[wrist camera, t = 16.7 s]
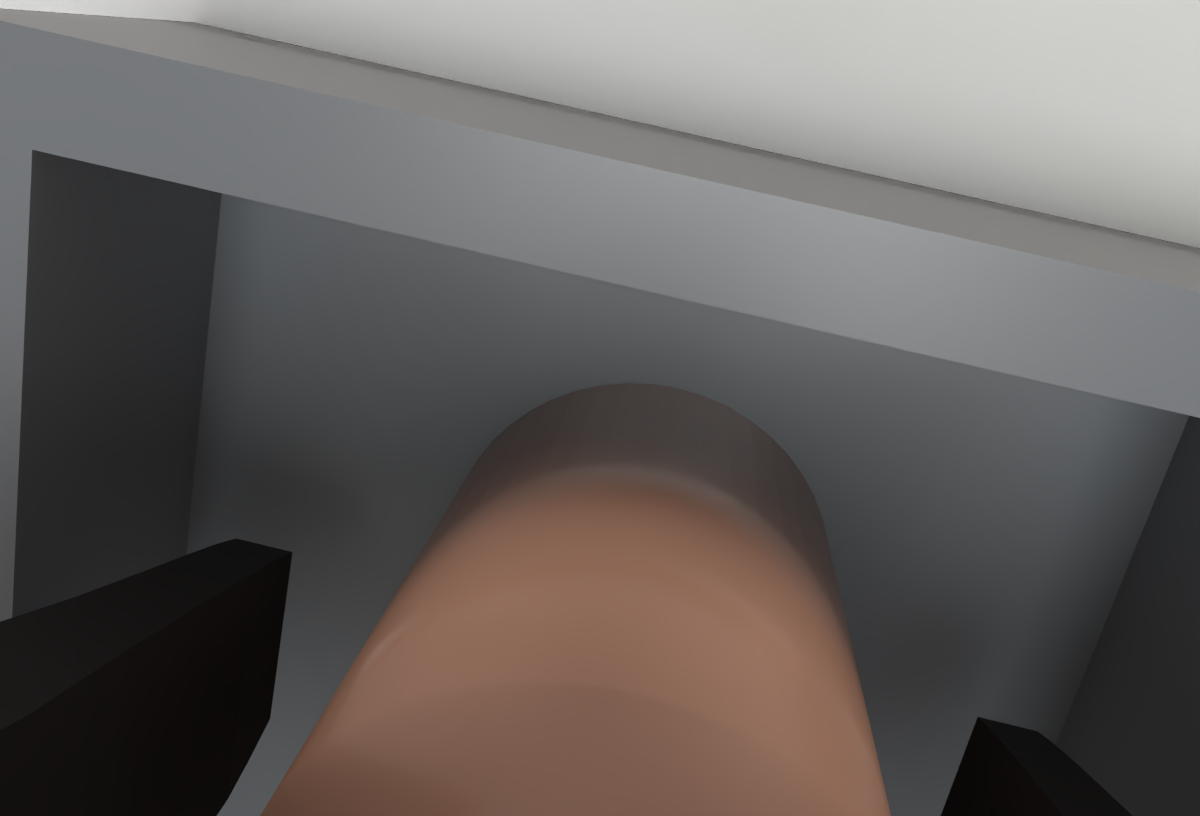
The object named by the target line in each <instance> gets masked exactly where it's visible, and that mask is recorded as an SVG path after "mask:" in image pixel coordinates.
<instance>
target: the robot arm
mask: <svg viewBox="0 0 1200 816" xmlns="http://www.w3.org/2000/svg"><path fill="white" fill-rule="evenodd" d="M291 559H292V552H290V551H286V550H282V549H278V548H274V547H270V546H266V545H261V544H257V543H253V542H249V541H245V540H241V539H232V540H229V541H225V542H221V543H218V544H215V545H212V546H209V547H207V548H204V549H201V550H198V551H196V552H193V553H190V554H187V555H185V556H182V557H180V558H177V559H174V560H172V561H169V562H166V563H164V564H161V565H159V566H156V567H154V568H151V569H148V570H146V571H143V572H140V573H138V574H135V575H132V576H130V577H127V578H124V579H122V580H119V581H116V582H114V583H111V584H108V585H106V586H103V587H101V588H98V589H95V590H93V591H90V592H87V593H85V594H82V595H79V596H76V597H73V598H70V599H67V600H64V601H61V602H58V603H55V604H52V605H49V606H46V607H43V608H40V609H37V610H34V611H31V612H28V613H25V614H22V615H19V616H16V617H13V618H10V619H7V620H4V621H1V622H0V816H217V814H218V813H219V812H220V810H221V809H222V807H223V806H224V804H225V803H226V801H227V800H228V798H229V796H230V794H231V793H232V791H233V789H234V787H235V785H236V783H237V782H238V780H239V778H240V776H241V774H242V772H243V770H244V769H245V767H246V765H247V763H248V761H249V759H250V757H251V755H252V753H253V751H254V749H255V747H256V745H257V744H258V742H259V740H260V738H261V736H262V734H263V732H264V730H265V728H266V726H267V724H268V722H269V720H270V716H271V709H272V701H273V694H274V686H275V679H276V671H277V664H278V657H279V649H280V642H281V634H282V627H283V619H284V612H285V604H286V597H287V589H288V582H289V574H290V567H291ZM941 816H1132V815H1131V814H1130V813H1129V812H1128V811H1127V810H1126V809H1125V808H1124V807H1123V806H1122V805H1121V804H1120V803H1119V802H1118V801H1117V800H1115V799H1114V798H1113V797H1112V796H1111V795H1110V794H1109V793H1108V792H1107V791H1106V790H1105V789H1104V788H1103V787H1102V786H1101V785H1099V784H1098V783H1097V782H1096V781H1095V780H1094V779H1093V778H1092V777H1091V776H1090V775H1089V774H1088V773H1086V772H1085V771H1084V770H1083V769H1082V768H1081V767H1080V766H1079V765H1078V764H1077V763H1075V762H1074V761H1073V760H1072V759H1071V758H1070V757H1069V756H1068V755H1066V754H1065V753H1064V752H1063V751H1062V750H1061V749H1059V748H1058V747H1057V746H1056V745H1055V744H1053V743H1052V742H1051V741H1050V740H1048V739H1047V738H1046V737H1044V736H1043V735H1042V734H1040V733H1039V732H1038V731H1035V730H1030V729H1026V728H1022V727H1018V726H1014V725H1010V724H1005V723H1001V722H997V721H993V720H989V719H985V718H981V717H977V720H976V723H975V725H974V728H973V731H972V733H971V736H970V739H969V741H968V744H967V747H966V749H965V752H964V755H963V757H962V760H961V763H960V765H959V768H958V771H957V773H956V776H955V779H954V781H953V784H952V787H951V789H950V792H949V795H948V797H947V800H946V803H945V805H944V808H943V811H942V813H941Z"/></svg>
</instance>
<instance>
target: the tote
mask: <svg viewBox="0 0 1200 816" xmlns="http://www.w3.org/2000/svg"><path fill="white" fill-rule="evenodd" d="M624 383H632V384H654V385H660V386H666V387H672V388H678V389H682V390H685V391H689V392H692V393H695V394H699V395H702V396H705V397H707V398H709V399H712V400H714V401H716V402H718V403H721V404H723V405H725V406H728V407H729V408H731V409H733V410H734V411H736V412H738V413H739V414H741V415H743V416H744V417H746V418H748V419H749V420H751V421H752V422H753V423H754V424H756V425H757V426H758V427H760V428H761V429H762V430H763V431H765V432H766V433H767V434H768V435H770V436H771V437H772V438H773V439H774V440H775V441H776V443H777V444H778V445H779V446H780V447H781V448H782V449H783V450H784V451H785V452H786V453H787V454H788V455H789V457H790V458H791V459H792V461H793V462H794V463H795V465H796V466H797V468H798V469H799V470H800V472H801V473H802V474H803V476H804V478H805V480H806V482H807V484H808V485H809V487H810V489H811V491H812V493H813V495H814V497H815V499H816V502H817V505H818V508H819V510H820V513H821V516H822V518H823V523H824V527H825V531H826V536H827V540H828V544H829V549H830V553H831V557H832V562H833V566H834V570H835V575H836V579H837V583H838V588H839V592H840V596H841V601H842V605H843V609H844V614H845V618H846V622H847V627H848V631H849V635H850V640H851V644H852V648H853V653H854V657H855V662H856V666H857V670H858V675H859V679H860V683H861V688H862V692H863V696H864V701H865V705H866V709H867V714H868V718H869V722H870V727H871V731H872V735H873V740H874V744H875V748H876V753H877V757H878V761H879V766H880V770H881V774H882V779H883V783H884V787H885V792H886V796H887V800H888V805H889V809H890V813H891V816H941V813H942V811H943V808H944V805H945V803H946V800H947V797H948V795H949V792H950V789H951V787H952V784H953V781H954V779H955V776H956V773H957V771H958V768H959V765H960V763H961V760H962V757H963V755H964V752H965V749H966V747H967V744H968V741H969V739H970V736H971V733H972V731H973V728H974V725H975V723H976V720H977V717H981V718H985V719H989V720H993V721H997V722H1001V723H1005V724H1010V725H1014V726H1018V727H1022V728H1026V729H1030V730H1035V731H1038V732H1039V733H1040V734H1042V735H1043V736H1044V737H1046V738H1047V739H1048V740H1050V741H1051V742H1052V743H1053V744H1055V745H1056V746H1057V747H1058V748H1059V749H1061V750H1062V751H1063V752H1064V753H1065V754H1066V755H1068V756H1069V757H1070V758H1071V759H1072V760H1073V761H1074V762H1075V763H1077V764H1078V765H1079V766H1080V767H1081V768H1082V769H1083V770H1084V771H1085V772H1086V773H1088V774H1089V775H1090V776H1091V777H1092V778H1093V779H1094V780H1095V781H1096V782H1097V783H1098V784H1099V785H1101V786H1102V787H1103V788H1104V789H1105V790H1106V791H1107V792H1108V793H1109V794H1110V795H1111V796H1112V797H1113V798H1114V799H1115V800H1117V801H1118V802H1119V803H1120V804H1121V805H1122V806H1123V807H1124V808H1125V809H1126V810H1127V811H1128V812H1129V813H1130V814H1131V815H1132V816H1200V249H1199V248H1195V247H1190V246H1186V245H1181V244H1177V243H1173V242H1168V241H1164V240H1159V239H1155V238H1150V237H1146V236H1141V235H1137V234H1132V233H1128V232H1124V231H1119V230H1115V229H1110V228H1106V227H1101V226H1097V225H1092V224H1088V223H1084V222H1079V221H1075V220H1070V219H1066V218H1061V217H1057V216H1052V215H1048V214H1044V213H1039V212H1035V211H1030V210H1026V209H1021V208H1017V207H1012V206H1008V205H1004V204H999V203H995V202H990V201H986V200H981V199H977V198H972V197H968V196H964V195H959V194H955V193H950V192H946V191H941V190H937V189H932V188H928V187H923V186H919V185H915V184H910V183H906V182H901V181H897V180H892V179H888V178H883V177H879V176H875V175H870V174H866V173H861V172H857V171H852V170H848V169H843V168H839V167H835V166H830V165H826V164H821V163H817V162H812V161H808V160H803V159H799V158H795V157H790V156H786V155H781V154H777V153H772V152H768V151H763V150H759V149H755V148H750V147H746V146H741V145H737V144H732V143H728V142H723V141H719V140H714V139H710V138H706V137H701V136H697V135H692V134H688V133H683V132H679V131H674V130H670V129H666V128H661V127H657V126H652V125H648V124H643V123H639V122H634V121H630V120H626V119H621V118H617V117H612V116H608V115H603V114H599V113H594V112H590V111H586V110H581V109H577V108H572V107H568V106H563V105H559V104H554V103H550V102H546V101H541V100H537V99H532V98H528V97H523V96H519V95H514V94H510V93H505V92H501V91H497V90H492V89H488V88H483V87H479V86H474V85H470V84H465V83H461V82H457V81H452V80H448V79H443V78H439V77H434V76H430V75H425V74H421V73H417V72H412V71H408V70H403V69H399V68H394V67H390V66H385V65H381V64H377V63H372V62H368V61H363V60H359V59H354V58H350V57H345V56H341V55H337V54H332V53H328V52H323V51H319V50H314V49H310V48H305V47H301V46H296V45H292V44H288V43H283V42H279V41H274V40H270V39H265V38H261V37H256V36H252V35H248V34H243V33H239V32H234V31H230V30H225V29H221V28H216V27H212V26H208V25H203V24H199V23H194V22H181V21H167V20H153V19H139V18H125V17H111V16H97V15H83V14H69V13H55V12H41V11H27V10H13V9H0V622H1V621H4V620H7V619H10V618H13V617H16V616H19V615H22V614H25V613H28V612H31V611H34V610H37V609H40V608H43V607H46V606H49V605H52V604H55V603H58V602H61V601H64V600H67V599H70V598H73V597H76V596H79V595H82V594H85V593H87V592H90V591H93V590H95V589H98V588H101V587H103V586H106V585H108V584H111V583H114V582H116V581H119V580H122V579H124V578H127V577H130V576H132V575H135V574H138V573H140V572H143V571H146V570H148V569H151V568H154V567H156V566H159V565H161V564H164V563H166V562H169V561H172V560H174V559H177V558H180V557H182V556H185V555H187V554H190V553H193V552H196V551H198V550H201V549H204V548H207V547H209V546H212V545H215V544H218V543H221V542H225V541H229V540H232V539H241V540H245V541H249V542H253V543H257V544H261V545H266V546H270V547H274V548H278V549H282V550H286V551H290V552H292V559H291V567H290V574H289V582H288V589H287V597H286V604H285V612H284V619H283V627H282V634H281V642H280V649H279V657H278V664H277V671H276V679H275V686H274V694H273V701H272V709H271V716H270V720H269V722H268V724H267V726H266V728H265V730H264V732H263V734H262V736H261V738H260V740H259V742H258V744H257V745H256V747H255V749H254V751H253V753H252V755H251V757H250V759H249V761H248V763H247V765H246V767H245V769H244V770H243V772H242V774H241V776H240V778H239V780H238V782H237V783H236V785H235V787H234V789H233V791H232V793H231V794H230V796H229V798H228V800H227V801H226V803H225V804H224V806H223V807H222V809H221V810H220V812H219V813H218V814H217V816H260V815H261V814H262V812H263V810H264V808H265V807H266V805H267V803H268V802H269V800H270V799H271V797H272V795H273V794H274V792H275V790H276V789H277V787H278V785H279V784H280V782H281V781H282V779H283V777H284V776H285V774H286V772H287V771H288V769H289V767H290V766H291V764H292V763H293V761H294V759H295V758H296V756H297V754H298V753H299V751H300V749H301V748H302V746H303V745H304V743H305V741H306V740H307V738H308V736H309V735H310V733H311V731H312V730H313V728H314V727H315V725H316V723H317V722H318V720H319V718H320V717H321V715H322V713H323V712H324V710H325V709H326V707H327V705H328V704H329V702H330V700H331V699H332V697H333V695H334V694H335V692H336V690H337V689H338V687H339V686H340V684H341V682H342V681H343V679H344V677H345V676H346V674H347V672H348V671H349V669H350V668H351V666H352V664H353V663H354V661H355V659H356V658H357V656H358V654H359V653H360V651H361V650H362V648H363V646H364V645H365V643H366V641H367V640H368V638H369V636H370V635H371V633H372V632H373V630H374V628H375V627H376V625H377V623H378V622H379V620H380V618H381V617H382V615H383V613H384V612H385V610H386V609H387V607H388V605H389V604H390V602H391V600H392V599H393V597H394V595H395V594H396V592H397V591H398V589H399V587H400V586H401V584H402V582H403V581H404V579H405V577H406V576H407V574H408V573H409V571H410V569H411V568H412V566H413V564H414V563H415V561H416V559H417V558H418V556H419V555H420V553H421V551H422V550H423V548H424V546H425V545H426V543H427V541H428V540H429V538H430V537H431V535H432V533H433V532H434V530H435V528H436V527H437V525H438V523H439V522H440V520H441V518H442V517H443V515H444V514H445V512H446V510H447V509H448V507H449V505H450V504H451V502H452V500H453V499H454V497H455V496H456V494H457V492H458V491H459V489H460V487H461V486H462V484H463V482H464V481H465V479H466V478H467V476H468V474H469V473H470V471H471V469H472V468H473V466H474V464H475V463H476V461H477V460H478V458H479V457H480V456H481V455H482V453H483V452H484V451H485V450H486V448H487V447H488V446H489V445H490V443H491V442H492V441H493V440H494V439H495V438H496V437H497V436H499V435H500V434H501V433H502V432H503V431H504V430H505V429H506V428H507V427H508V426H509V425H511V424H512V423H513V422H515V421H516V420H518V419H519V418H520V417H522V416H523V415H525V414H526V413H528V412H529V411H531V410H533V409H535V408H537V407H538V406H540V405H542V404H544V403H546V402H548V401H550V400H552V399H555V398H558V397H560V396H563V395H566V394H569V393H572V392H574V391H578V390H583V389H587V388H592V387H596V386H601V385H613V384H624Z"/></svg>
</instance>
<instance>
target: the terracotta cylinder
mask: <svg viewBox="0 0 1200 816" xmlns="http://www.w3.org/2000/svg"><path fill="white" fill-rule="evenodd" d="M260 816H891V813H890V809H889V805H888V800H887V796H886V792H885V787H884V783H883V779H882V774H881V770H880V766H879V761H878V757H877V753H876V748H875V744H874V740H873V735H872V731H871V727H870V722H869V718H868V714H867V709H866V705H865V701H864V696H863V692H862V688H861V683H860V679H859V675H858V670H857V666H856V662H855V657H854V653H853V648H852V644H851V640H850V635H849V631H848V627H847V622H846V618H845V614H844V609H843V605H842V601H841V596H840V592H839V588H838V583H837V579H836V575H835V570H834V566H833V562H832V557H831V553H830V549H829V544H828V540H827V536H826V531H825V527H824V523H823V518H822V516H821V513H820V510H819V508H818V505H817V502H816V499H815V497H814V495H813V493H812V491H811V489H810V487H809V485H808V484H807V482H806V480H805V478H804V476H803V474H802V473H801V472H800V470H799V469H798V468H797V466H796V465H795V463H794V462H793V461H792V459H791V458H790V457H789V455H788V454H787V453H786V452H785V451H784V450H783V449H782V448H781V447H780V446H779V445H778V444H777V443H776V441H775V440H774V439H773V438H772V437H771V436H770V435H768V434H767V433H766V432H765V431H763V430H762V429H761V428H760V427H758V426H757V425H756V424H754V423H753V422H752V421H751V420H749V419H748V418H746V417H744V416H743V415H741V414H739V413H738V412H736V411H734V410H733V409H731V408H729V407H728V406H725V405H723V404H721V403H718V402H716V401H714V400H712V399H709V398H707V397H705V396H702V395H699V394H695V393H692V392H689V391H685V390H682V389H678V388H672V387H666V386H660V385H654V384H632V383H624V384H613V385H601V386H596V387H592V388H587V389H583V390H578V391H574V392H572V393H569V394H566V395H563V396H560V397H558V398H555V399H552V400H550V401H548V402H546V403H544V404H542V405H540V406H538V407H537V408H535V409H533V410H531V411H529V412H528V413H526V414H525V415H523V416H522V417H520V418H519V419H518V420H516V421H515V422H513V423H512V424H511V425H509V426H508V427H507V428H506V429H505V430H504V431H503V432H502V433H501V434H500V435H499V436H497V437H496V438H495V439H494V440H493V441H492V442H491V443H490V445H489V446H488V447H487V448H486V450H485V451H484V452H483V453H482V455H481V456H480V457H479V458H478V460H477V461H476V463H475V464H474V466H473V468H472V469H471V471H470V473H469V474H468V476H467V478H466V479H465V481H464V482H463V484H462V486H461V487H460V489H459V491H458V492H457V494H456V496H455V497H454V499H453V500H452V502H451V504H450V505H449V507H448V509H447V510H446V512H445V514H444V515H443V517H442V518H441V520H440V522H439V523H438V525H437V527H436V528H435V530H434V532H433V533H432V535H431V537H430V538H429V540H428V541H427V543H426V545H425V546H424V548H423V550H422V551H421V553H420V555H419V556H418V558H417V559H416V561H415V563H414V564H413V566H412V568H411V569H410V571H409V573H408V574H407V576H406V577H405V579H404V581H403V582H402V584H401V586H400V587H399V589H398V591H397V592H396V594H395V595H394V597H393V599H392V600H391V602H390V604H389V605H388V607H387V609H386V610H385V612H384V613H383V615H382V617H381V618H380V620H379V622H378V623H377V625H376V627H375V628H374V630H373V632H372V633H371V635H370V636H369V638H368V640H367V641H366V643H365V645H364V646H363V648H362V650H361V651H360V653H359V654H358V656H357V658H356V659H355V661H354V663H353V664H352V666H351V668H350V669H349V671H348V672H347V674H346V676H345V677H344V679H343V681H342V682H341V684H340V686H339V687H338V689H337V690H336V692H335V694H334V695H333V697H332V699H331V700H330V702H329V704H328V705H327V707H326V709H325V710H324V712H323V713H322V715H321V717H320V718H319V720H318V722H317V723H316V725H315V727H314V728H313V730H312V731H311V733H310V735H309V736H308V738H307V740H306V741H305V743H304V745H303V746H302V748H301V749H300V751H299V753H298V754H297V756H296V758H295V759H294V761H293V763H292V764H291V766H290V767H289V769H288V771H287V772H286V774H285V776H284V777H283V779H282V781H281V782H280V784H279V785H278V787H277V789H276V790H275V792H274V794H273V795H272V797H271V799H270V800H269V802H268V803H267V805H266V807H265V808H264V810H263V812H262V814H261V815H260Z"/></svg>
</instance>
